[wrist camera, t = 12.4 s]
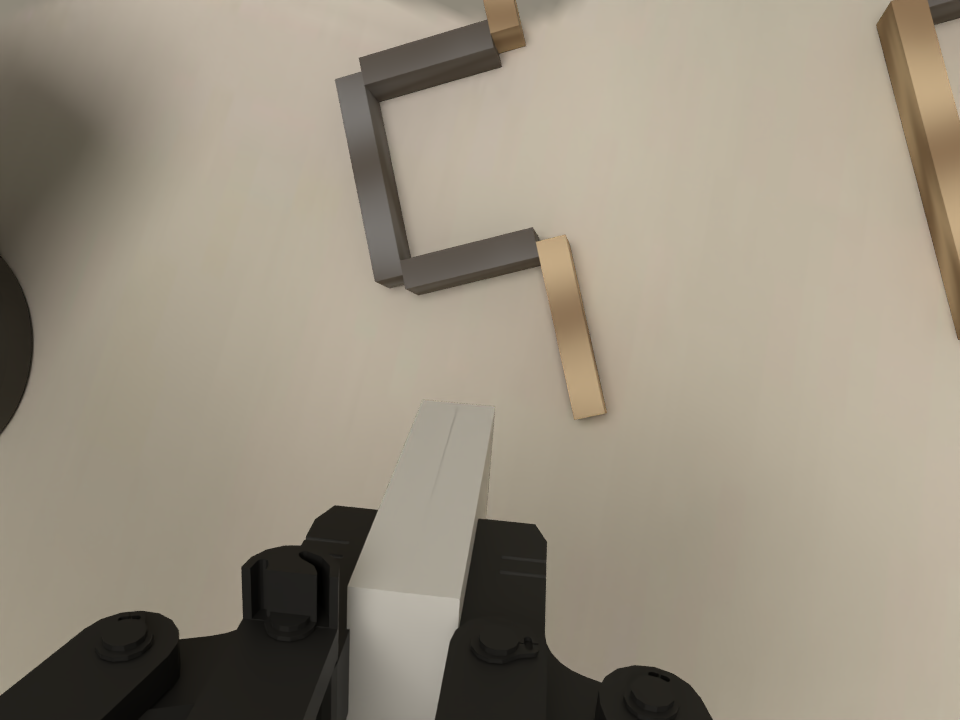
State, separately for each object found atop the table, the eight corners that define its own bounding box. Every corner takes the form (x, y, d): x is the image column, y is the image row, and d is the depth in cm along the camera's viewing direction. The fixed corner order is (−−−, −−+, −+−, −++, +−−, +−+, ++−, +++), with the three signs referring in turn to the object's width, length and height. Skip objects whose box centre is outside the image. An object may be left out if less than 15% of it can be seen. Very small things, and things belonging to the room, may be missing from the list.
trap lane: (1190, 291, 38) (1253, 278, 34) (422, 451, 45) (400, 456, 41) (990, -404, 41) (1027, -489, 37) (299, -161, 48) (269, -211, 44)
